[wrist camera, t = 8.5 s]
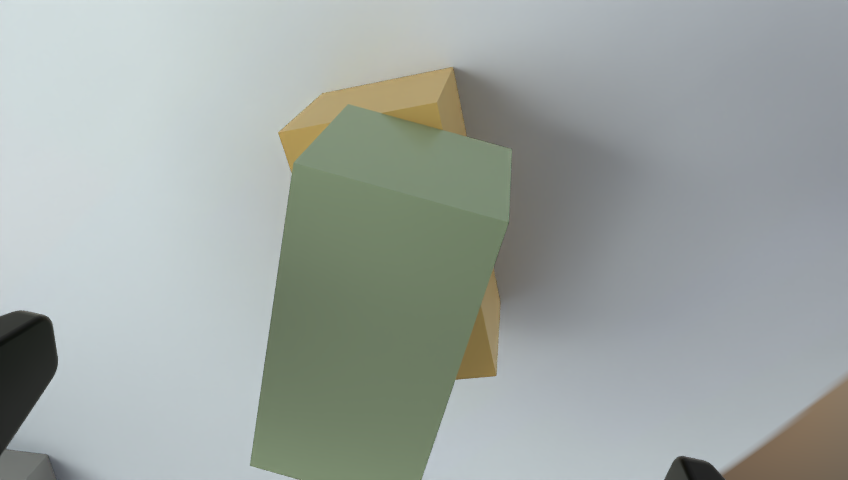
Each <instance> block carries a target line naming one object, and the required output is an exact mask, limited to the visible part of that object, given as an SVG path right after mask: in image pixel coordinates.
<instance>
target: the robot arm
mask: <svg viewBox="0 0 848 480" xmlns="http://www.w3.org/2000/svg"><path fill="white" fill-rule="evenodd" d="M57 365H58V356H57V349H56V343H55V336H54V330H53V324H52V321H51V320H50V319H49V317H47V316H45V315H42V314H37V313H33V312H28V311H21V310H20V311H15V312H11V313H8V314H5V315H2V316H0V456H1V455H2V453H3V452H4V450H5V449H6V447H7V446H8V444H9V443H10V441H11V440H12V438H13V437H14V435H15V434H16V432H17V431H18V429H19V428H20V426H21V425H22V423H23V422H24V420H25V419H26V417H27V416H28V414H29V413H30V411H31V410H32V408H33V407H34V405H35V404H36V402H37V401H38V399H39V398H40V396H41V395H42V393H43V392H44V390H45V389H46V387H47V386H48V384H49V383H50V381H51V380H52V378H53V376H54V375H55V372H56V369H57ZM664 480H725V479H724V478H723V477H722V475H721V474H720V473H719V472H718V471H717V470H716V469H715V467H714V466H713V465H711V464H710V463H709V462H706V461H704V460H699V459H695V458H690V457H686V456H679V457H677V458H676V459H675V460H674V461H673V463H672V465H671V467H670V469H669V471H668V473H667V475H666V477H665V479H664Z"/></svg>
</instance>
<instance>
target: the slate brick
mask: <svg viewBox="0 0 848 480" xmlns="http://www.w3.org/2000/svg"><path fill="white" fill-rule="evenodd" d="M0 480H56V477H55V474H54V471H53V468H52V466H51V463H50V460H49V457H48V455H46V454H38V453H30V452H23V451H15V450H7V449H5V450H4V452H3V453H2V455H1V456H0Z"/></svg>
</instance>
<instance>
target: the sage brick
mask: <svg viewBox="0 0 848 480" xmlns="http://www.w3.org/2000/svg"><path fill="white" fill-rule="evenodd" d="M511 161H512V149H510V148H506V147H502V146H499V145H495V144H492V143H488V142H484V141H481V140H477V139H473V138H470V137H466V136H462V135H459V134H455V133H452V132H448V131H444V130H440V129H437V128H433V127H429V126H426V125H422V124H418V123H415V122H411V121H408V120H404V119H400V118H397V117H393V116H389V115H386V114H382V113H379V112H375V111H372V110H368V109H364V108H361V107H357V106H353V105H350V104H348V105H347V106H346V107H345V108H344V109H343V110H342V111H341V112H340V113H339V114H338V115H337V116H336V118H335V119H334V120H333V121H332V122H331V123H330V124H329V125H328V126H327V127H326V128H325V129H324V130H323V132H322V133H321V134H320V135H319V136H318V137H317V138H316V139H315V140H314V141H313V142H312V143H311V144H310V145H309V147H308V148H307V149H306V150H305V151H304V152H303V153H302V154H301V155H300V156H299V157H298V158H297V159H296V161H295V162H294V163H293V170H292V176H291V183H290V190H289V197H288V204H287V211H286V218H285V225H284V232H283V239H282V246H281V253H280V260H279V267H278V274H277V281H276V288H275V295H274V302H273V309H272V316H271V323H270V330H269V337H268V344H267V351H266V357H265V364H264V371H263V378H262V385H261V392H260V399H259V406H258V413H257V420H256V427H255V434H254V441H253V448H252V455H251V462H250V466H253V467H256V468H260V469H263V470H267V471H270V472H274V473H277V474H281V475H285V476H288V477H292V478H295V479H299V480H421V479H422V476H423V473H424V470H425V467H426V464H427V462H428V459H429V456H430V453H431V450H432V447H433V444H434V441H435V438H436V435H437V432H438V429H439V426H440V423H441V420H442V417H443V415H444V412H445V409H446V406H447V403H448V400H449V397H450V394H451V391H452V388H453V385H454V382H455V379H456V376H457V373H458V370H459V368H460V365H461V362H462V359H463V356H464V353H465V350H466V347H467V344H468V341H469V338H470V335H471V332H472V329H473V326H474V323H475V321H476V318H477V315H478V312H479V309H480V306H481V303H482V300H483V297H484V294H485V291H486V288H487V285H488V282H489V279H490V276H491V274H492V271H493V268H494V265H495V262H496V259H497V256H498V253H499V250H500V247H501V244H502V241H503V238H504V235H505V232H506V229H507V227H508V224H509V209H510V185H511Z"/></svg>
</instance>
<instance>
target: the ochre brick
mask: <svg viewBox="0 0 848 480" xmlns="http://www.w3.org/2000/svg"><path fill="white" fill-rule="evenodd" d="M348 104H350V105H353V106H357V107H361V108H364V109H368V110H372V111H375V112H379V113H382V114H386V115H389V116H393V117H397V118H400V119H404V120H408V121H411V122H415V123H418V124H422V125H426V126H429V127H433V128H437V129H440V130H444V131H448V132H452V133H455V134H459V135H462V136H466V137H467V134H466V129H465V124H464V119H463V114H462V109H461V104H460V99H459V94H458V89H457V84H456V79H455V74H454V69H453V67H450V68H445V69H440V70H436V71H431V72H426V73H421V74H416V75H411V76H406V77H401V78H396V79H391V80H386V81H381V82H376V83H371V84H366V85H361V86H356V87H351V88H346V89H341V90H336V91H331V92H326V93H322V94H321V95H320V96H319V97H318V98H316V99H315V100H314V101H313V102H312V103H311V104H310V105H309V106H307V107H306V108H305V109H304V110H303V111H302V112H301V113H300V114H298V115H297V116H296V117H295V118H294V119H293V120H292V121H291V122H289V123H288V124H287V125H286V126H285V127H284V128H283V129H282V130H280V131H279V132H278V134H279V137H280V140H281V142H282V145H283V148H284V151H285V154H286V157H287V160H288V163H289V166H290V169H291V172H292V170H293V163H294V162H295V161H296V159H297V158H298V157H299V156H300V155H301V154H302V153H303V152H304V151H305V150H306V149H307V148H308V147H309V145H310V144H311V143H312V142H313V141H314V140H315V139H316V138H317V137H318V136H319V135H320V134H321V133H322V132H323V130H324V129H325V128H326V127H327V126H328V125H329V124H330V123H331V122H332V121H333V120H334V119H335V118H336V116H337V115H338V114H339V113H340V112H341V111H342V110H343V109H344V108H345V107H346V106H347V105H348ZM499 320H500V298H499V293H498V288H497V283H496V278H495V273H494V268H493V271H492V274H491V276H490V279H489V282H488V285H487V288H486V291H485V294H484V297H483V300H482V303H481V306H480V309H479V312H478V315H477V318H476V321H475V323H474V326H473V329H472V332H471V335H470V338H469V341H468V344H467V347H466V350H465V353H464V356H463V359H462V362H461V365H460V368H459V370H458V373H457V376H456V379H455V380H457V379H468V378H479V377H491V376H496V374H497V356H498V338H499Z"/></svg>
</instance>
